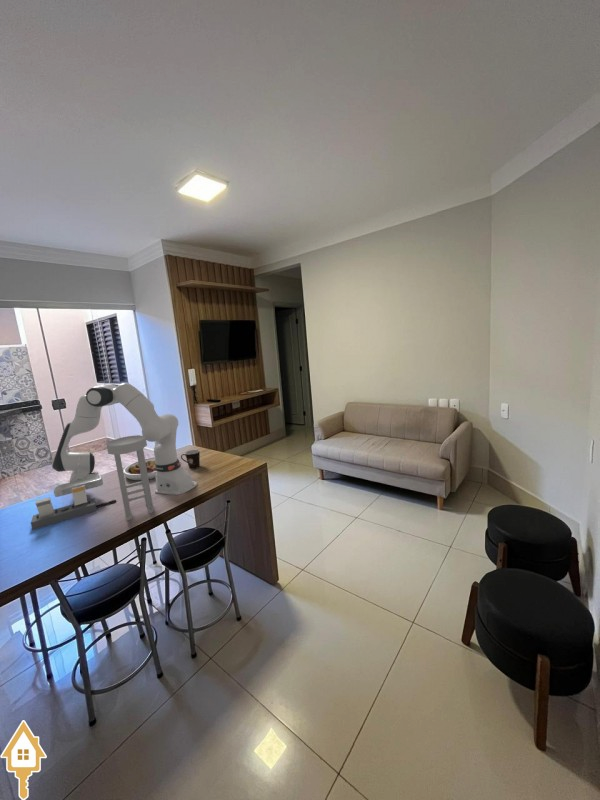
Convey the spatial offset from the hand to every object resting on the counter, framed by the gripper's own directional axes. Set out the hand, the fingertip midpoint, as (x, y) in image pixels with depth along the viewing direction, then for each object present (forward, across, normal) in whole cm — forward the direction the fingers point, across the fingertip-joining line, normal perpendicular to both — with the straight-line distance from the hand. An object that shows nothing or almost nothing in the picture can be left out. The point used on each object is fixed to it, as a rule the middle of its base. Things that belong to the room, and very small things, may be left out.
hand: (78, 491), depth 151 cm
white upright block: (+2, 0, +6) cm, 6 cm away
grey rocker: (+2, -13, +6) cm, 14 cm away
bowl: (-30, +35, +10) cm, 47 cm away
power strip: (+2, -2, +10) cm, 10 cm away
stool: (+21, +23, +10) cm, 33 cm away
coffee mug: (-19, +58, +10) cm, 62 cm away
